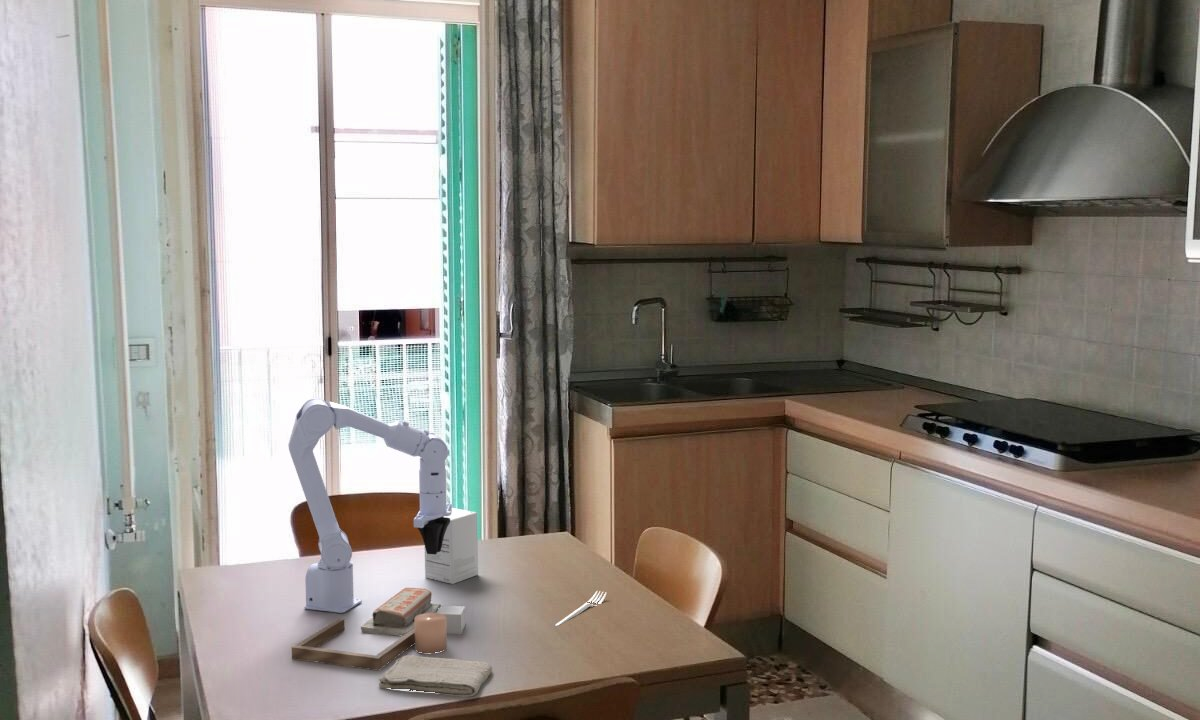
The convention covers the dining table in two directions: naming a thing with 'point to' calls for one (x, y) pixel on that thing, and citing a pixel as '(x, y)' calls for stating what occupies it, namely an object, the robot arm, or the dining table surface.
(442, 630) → the peach pillar candle
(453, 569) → the supplement box
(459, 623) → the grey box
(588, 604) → the fork
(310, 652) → the open wooden frame
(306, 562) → the dining table surface
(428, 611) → the packaged product
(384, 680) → the washcloth
